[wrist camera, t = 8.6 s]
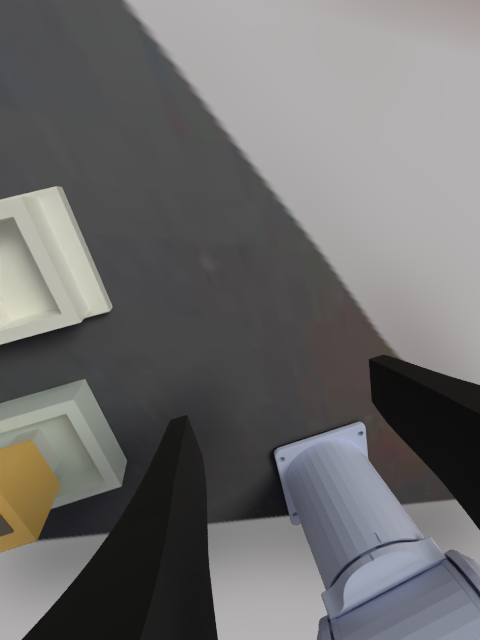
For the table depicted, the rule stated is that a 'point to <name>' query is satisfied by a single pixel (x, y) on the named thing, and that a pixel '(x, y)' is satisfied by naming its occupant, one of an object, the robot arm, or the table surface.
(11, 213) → the white open box
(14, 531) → the block
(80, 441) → the parts tray
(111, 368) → the table surface
